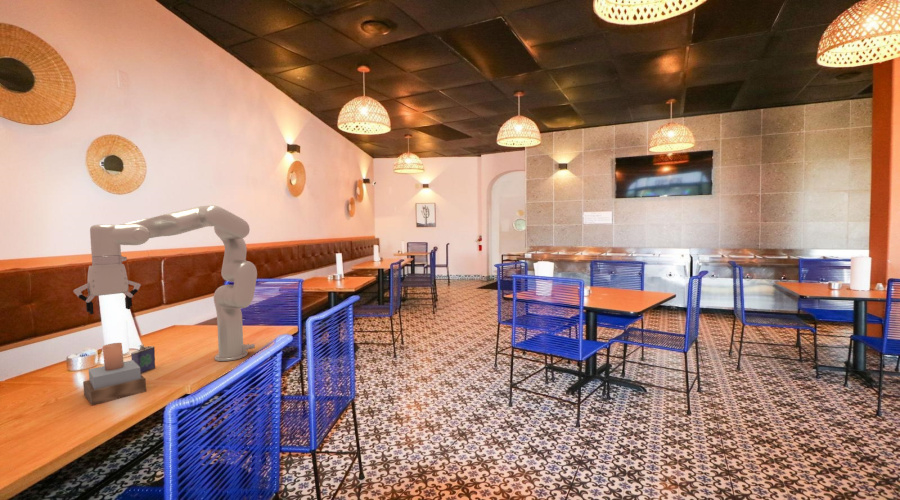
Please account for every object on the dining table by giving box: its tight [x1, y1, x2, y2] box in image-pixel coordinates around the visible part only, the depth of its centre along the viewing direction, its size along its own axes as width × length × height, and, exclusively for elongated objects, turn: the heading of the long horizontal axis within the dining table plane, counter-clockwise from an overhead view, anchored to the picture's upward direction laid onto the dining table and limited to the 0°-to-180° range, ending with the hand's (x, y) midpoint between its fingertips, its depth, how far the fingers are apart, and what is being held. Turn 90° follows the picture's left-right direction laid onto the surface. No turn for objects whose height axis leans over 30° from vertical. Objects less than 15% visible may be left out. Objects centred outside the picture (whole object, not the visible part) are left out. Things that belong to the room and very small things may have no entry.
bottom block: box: [82, 374, 147, 406], centre depth 135 cm, size 14×14×5 cm
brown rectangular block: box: [102, 342, 125, 371], centre depth 135 cm, size 5×5×8 cm
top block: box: [88, 359, 142, 390], centre depth 135 cm, size 12×12×4 cm
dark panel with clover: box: [130, 344, 156, 375], centre depth 155 cm, size 9×3×11 cm, turn 172°
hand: (110, 311), depth 134 cm, fingers open, 9 cm apart
